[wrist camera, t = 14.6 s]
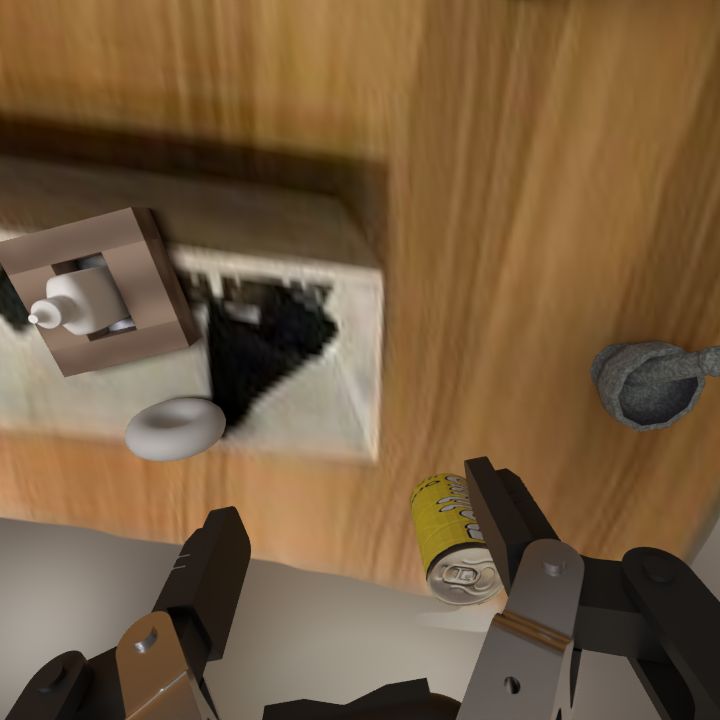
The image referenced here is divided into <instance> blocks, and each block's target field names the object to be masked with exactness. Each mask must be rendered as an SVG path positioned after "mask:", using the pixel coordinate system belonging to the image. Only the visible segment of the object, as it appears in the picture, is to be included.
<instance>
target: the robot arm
mask: <svg viewBox="0 0 720 720" xmlns="http://www.w3.org/2000/svg"><path fill="white" fill-rule="evenodd" d="M464 466H465V473H466V480H467V487H468V494H469V499H470V504H471V507H472V511H473V514H474V516H475V519H476V521H477V523H478V526H479V528H480V531H481V533H482V536H483V538H484V540H485V543H486V545H487V548H488V550H489V552H490V555H491V557H492V560H493V562H494V564H495V567H496V569H497V572H498V574H499V576H500V579H501V581H502V584H503V586H504V588H505V591H506V593H507V596H508V600H507V603H506V606H505V609H504V611H503V613H502V614H500V613H497V614H496V615H495V616H494V617H493V619H492V622H491V624H490V627H489V630H488V632H487V636H486V638H485V641H484V644H483V646H482V649H481V652H480V654H479V657H478V660H477V663H476V665H475V669H474V671H473V674H472V676H471V679H470V682H469V685H468V688H467V690H466V693H465V696H464V698H463V701H462V703H461V702H459V701H456V700H455V699H452V698H450V697H448V696H444V695H441V694H437V693H431V692H430V690H429V686H428V682H427V678H422V679H416V680H410V681H405V682H400V683H393V684H387V685H385V686H383V687H381V688H379V689H376V690H374V691H372V692H370V693H369V694H366V695H364V696H362V697H360V698H358V699H357V700H354V701H352V702H350V703H348V704H345V705H339V704H332V703H326V702H320V701H314V700H307V699H301V700H295V701H290V702H283V703H278V704H272V705H266V706H265V707H264V714H263V719H262V720H573V716H574V710H575V704H576V698H577V691H578V685H579V679H580V673H581V667H582V661H583V655H584V650H589V651H596V652H601V653H607V654H613V655H618V656H625V657H627V659H628V660H629V662H630V664H631V666H632V667H633V669H634V671H635V673H636V675H637V676H638V678H639V680H640V682H641V683H642V685H643V687H644V689H645V691H646V692H647V694H648V696H649V698H650V699H651V701H652V703H653V704H654V707H655V708H656V710H657V712H658V714H659V715H660V717H661V719H662V720H720V602H719V601H718V600H717V598H716V597H715V596H714V595H713V594H712V593H711V592H710V590H709V589H708V588H707V587H706V586H705V585H704V584H703V582H702V581H701V580H700V579H699V578H698V577H697V576H696V574H695V573H694V572H693V571H692V570H691V569H690V568H689V567H688V566H687V565H686V564H685V563H684V562H683V561H682V560H680V559H679V558H677V557H676V556H674V555H672V554H670V553H668V552H666V551H663V550H660V549H657V548H651V547H638V548H633V549H631V550H629V551H628V552H626V553H625V555H624V556H623V559H622V561H612V560H602V559H594V558H589V557H586V556H583V555H580V554H579V553H578V552H577V551H576V550H575V549H574V548H572V547H571V546H569V545H568V544H566V543H564V542H561V540H560V539H559V538H558V536H557V535H556V533H555V531H554V530H553V528H552V527H551V525H550V524H549V522H548V521H547V519H546V517H545V516H544V514H543V513H542V511H541V510H540V508H539V507H538V505H537V504H536V502H535V501H534V499H533V497H532V496H531V494H530V493H529V491H527V488H526V487H525V485H524V483H523V482H522V480H521V479H520V477H518V476H517V475H515V474H514V473H513V472H511V471H510V470H508V469H507V468H506V469H501V470H496V471H495V470H494V468H493V466H492V464H491V463H490V461H489V459H488V458H487V457H486V456H484V457H479V458H474V459H469V460H465V461H464ZM250 556H251V545H250V540H249V537H248V535H247V532H246V530H245V528H244V525H243V523H242V521H241V518H240V516H239V513H238V511H237V509H236V508H235V507H234V506H231V507H226V508H221V509H216V510H212V511H210V513H209V514H208V517H207V519H206V521H205V523H204V525H203V528H199V529H197V530H196V531H195V532H194V533H193V534H192V535H191V536H190V538H189V539H188V540H187V541H186V542H185V544H184V546H183V548H182V550H181V552H180V555H179V559H177V561H176V563H175V565H174V567H173V570H172V571H171V573H170V575H169V577H168V579H167V581H166V583H165V585H164V587H163V590H162V592H161V593H160V595H159V598H158V600H157V602H156V604H155V606H154V608H153V610H152V612H151V613H150V614H148V615H146V616H144V617H142V618H141V619H139V620H138V621H137V622H135V623H134V624H133V625H132V626H131V627H130V628H129V629H128V630H127V631H126V633H125V634H124V635H123V637H122V638H121V640H120V641H119V644H118V646H116V647H114V648H112V649H110V650H108V651H106V652H104V653H102V654H100V655H98V656H96V657H94V658H91V659H89V660H86V658H85V657H84V656H83V654H82V653H81V652H79V651H69V652H65V653H63V654H61V655H59V656H57V657H55V658H54V659H52V660H51V661H49V662H48V663H47V664H46V665H44V666H43V667H42V668H41V669H40V670H39V671H38V672H37V673H36V674H35V675H34V676H33V678H32V679H31V680H30V681H29V683H28V684H27V686H26V687H25V689H24V690H23V692H22V694H21V695H20V696H19V698H18V700H17V701H16V703H15V704H14V706H13V708H12V709H11V711H10V713H9V714H8V715H7V717H6V719H5V720H222V719H221V716H220V714H219V711H218V708H217V706H216V704H215V701H214V698H213V696H212V693H211V690H210V688H209V685H208V683H207V680H206V678H205V676H204V675H203V672H204V669H205V666H206V663H207V662H208V661H214V660H219V659H222V657H223V653H224V650H225V646H226V642H227V639H228V636H229V632H230V628H231V625H232V621H233V618H234V614H235V610H236V607H237V603H238V600H239V596H240V593H241V589H242V585H243V582H244V578H245V574H246V571H247V568H248V564H249V560H250Z"/></svg>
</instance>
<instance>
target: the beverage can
mask: <svg viewBox="0 0 720 720" xmlns="http://www.w3.org/2000/svg"><path fill="white" fill-rule="evenodd" d="M410 508H411V512H412V517H413V521H414V526H415V530H416V535H417V539H418V544H419V548H420V553H421V558H422V562H423V567H424V571H425V576H426V580H427V584H428V588H429V590H430V592H431V593H432V595H433V596H434V597H435V598H436V599H438V600H439V601H441V602H443V603H445V604H448V605H452V606H458V607H468V606H474V605H478V604H481V603H484V602H486V601H488V600H490V599H492V598H493V597H495V596H496V595H498V593H499V592H500V591H501V590H502V589H503V588H504V586H503V584H502V581H501V579H500V576H499V574H498V572H497V569H496V567H495V564H494V562H493V560H492V557H491V555H490V552H489V550H488V548H487V545H486V543H485V540H484V538H483V536H482V533H481V531H480V528H479V526H478V523H477V521H476V519H475V516H474V514H473V511H472V507H471V504H470V499H469V494H468V487H467V481H466V480H465V479H464V478H462V477H460V476H458V475H453V474H438V475H434V476H431V477H429V478H427V479H424V480H423V481H422V482H421V483H419V484H418V485H417V486H416V488H415V489H414V490H413V492H412V495H411V497H410Z"/></svg>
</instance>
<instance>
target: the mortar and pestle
mask: <svg viewBox="0 0 720 720" xmlns="http://www.w3.org/2000/svg"><path fill="white" fill-rule="evenodd" d="M590 373H591V376H592V379H593V383H594V384H595V385H597V388H598V391H599V394H600V398H601V401H602V404H603V407H604V408H605V410H606V411H607V412H608V413H609V414H610V415H611V416H612V417H613V418H615V419H616V420H617V421H619V422H621V423H623V424H625V425H627V426H629V427H631V428H633V429H635V430H637V431H639V432H640V431H647V430H654V429H660V428H667V427H669V426H670V425H671V424H673V423H674V422H676V421H677V420H679V419H680V418H681V417H683V416H684V415H686V414H687V413H688V412H690V411H691V410H693V408H694V406H695V404H696V402H697V400H698V398H699V396H700V394H701V392H702V390H703V388H704V386H705V384H706V383H705V378H704V375H711V376H713V377H716V376H720V346H713V347H708V348H704V349H703V351H697V352H687V351H685V350H683V349H681V348H680V347H677V346H675V345H672V344H670V343H666V342H661V341H652V342H645V343H639V344H633V345H629V344H627V343H621V344H614V345H609V346H608V347H607V348H605V349H604V350H603V351H602V352H600V353H599V354H598V355H597V356H596V357H595V359H594V362H593V364H592V367H591V369H590Z"/></svg>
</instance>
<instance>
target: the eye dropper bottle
mask: <svg viewBox="0 0 720 720" xmlns="http://www.w3.org/2000/svg"><path fill="white" fill-rule="evenodd" d="M46 293H47V298H46V299H43V300H39V301H37V302H35V303H34V304H33V305H32V307H31V315H30V316H29V321H30V322H31V323H37V324H38V325H40V326H42V327H44V328H48V329H53V328H57V327H59V326H62V325H63V326H64V327H65V328H66V329H68V330H69V331H70V332H72V333H73V334H75V335H86V334H90V333H93V332H96V331H99V330H101V329H103V328H105V327H108V326H110V325H112V324H114V323H116V322H118V321H121V320H123V319H125V318H127V317H129V316H131V315H130V313H129V311H128V309H127V306H126V304H125V302H124V300H123V298H122V296H121V293H120V291H119V289H118V287H117V285H116V283H115V280H114V278H113V276H112V274H111V272H110V270H109V267H108V265H104V266H99V267H94V268H89V269H85V270H80V271H75V272H71V273H67V274H62V275H59V276H55V277H52V278H50V279H49V280H48V282H47V286H46Z"/></svg>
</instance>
